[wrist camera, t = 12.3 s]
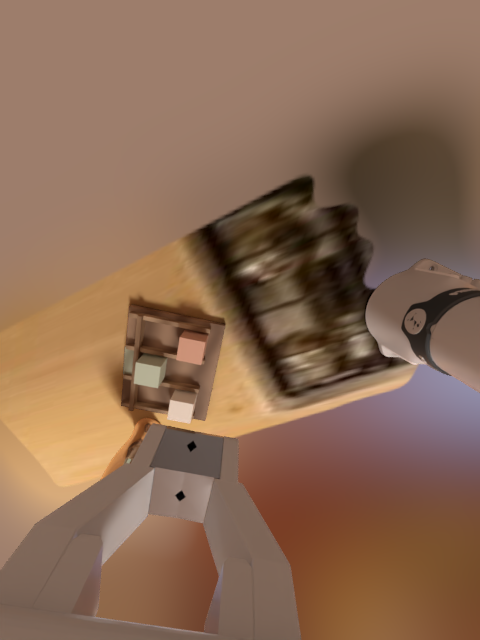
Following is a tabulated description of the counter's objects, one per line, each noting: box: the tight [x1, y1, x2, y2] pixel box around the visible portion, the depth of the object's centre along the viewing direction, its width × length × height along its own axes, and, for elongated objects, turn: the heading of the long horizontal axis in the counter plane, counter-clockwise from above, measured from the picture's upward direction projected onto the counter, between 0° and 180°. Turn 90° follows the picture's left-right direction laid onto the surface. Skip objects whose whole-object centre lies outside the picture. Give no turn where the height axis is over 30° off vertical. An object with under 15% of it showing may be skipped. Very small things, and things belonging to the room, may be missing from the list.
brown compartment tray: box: [121, 305, 225, 421], centre depth 47 cm, size 18×22×3 cm
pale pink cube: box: [167, 389, 197, 423], centre depth 48 cm, size 4×4×4 cm
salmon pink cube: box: [176, 329, 209, 365], centre depth 44 cm, size 4×4×4 cm
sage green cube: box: [134, 353, 167, 388], centre depth 46 cm, size 4×4×4 cm
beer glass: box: [100, 418, 160, 480], centre depth 47 cm, size 7×7×15 cm
